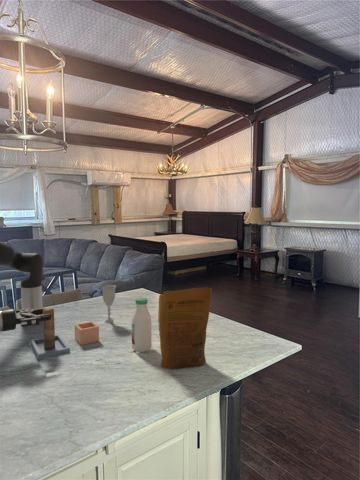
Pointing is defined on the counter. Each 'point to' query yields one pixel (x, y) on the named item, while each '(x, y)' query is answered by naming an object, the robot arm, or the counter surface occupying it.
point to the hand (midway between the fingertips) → (48, 313)
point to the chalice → (108, 299)
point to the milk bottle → (141, 327)
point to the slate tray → (42, 353)
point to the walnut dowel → (49, 330)
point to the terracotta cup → (86, 332)
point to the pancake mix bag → (183, 327)
